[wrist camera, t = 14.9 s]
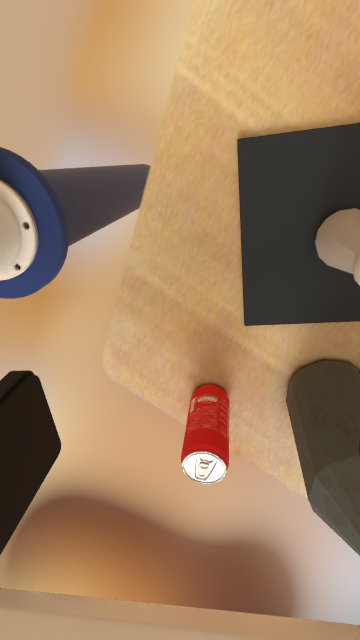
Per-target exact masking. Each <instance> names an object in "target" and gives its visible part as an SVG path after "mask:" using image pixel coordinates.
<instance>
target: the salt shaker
mask: <svg viewBox="0 0 360 640" xmlns="http://www.w3.org/2000/svg"><path fill="white" fill-rule="evenodd" d="M315 244H316V248H317V252H318V256H319V258H320V259H321V260H323V261H324V262H325V263H326V264H327V265H328V266H331V267H334V268H337V269H340V270H343V271H346V272H348V273H351V274H353V275H354V279H355V281H356V282H357V283H358V284H359V285H360V210H359V209H356V208H353V209H347V210H340V211H338V212H336V213H335V214H333V215H331V216H330V217H328V218H326V220H325V221H324V222H323V224H322V225H321V227H320V228H319V229H318V232H317V237H316V241H315Z"/></svg>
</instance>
